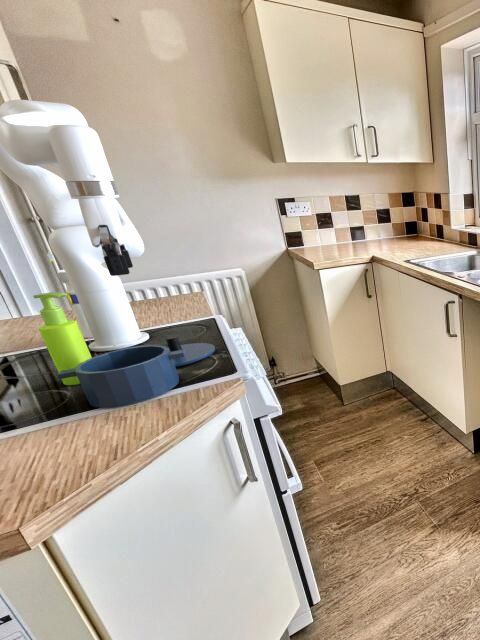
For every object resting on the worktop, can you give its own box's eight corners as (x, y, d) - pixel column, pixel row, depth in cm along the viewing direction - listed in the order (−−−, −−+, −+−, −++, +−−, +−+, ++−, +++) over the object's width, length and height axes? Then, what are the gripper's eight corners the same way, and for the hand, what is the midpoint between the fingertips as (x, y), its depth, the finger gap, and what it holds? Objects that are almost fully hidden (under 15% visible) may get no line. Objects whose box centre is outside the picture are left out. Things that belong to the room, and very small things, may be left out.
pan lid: (146, 355, 108) (138, 334, 106) (218, 343, 115) (212, 323, 113) (131, 377, 95) (122, 354, 93) (213, 362, 102) (206, 340, 100)
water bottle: (82, 340, 120) (44, 252, 111) (79, 334, 126) (43, 249, 116) (120, 333, 126) (87, 248, 117) (116, 327, 131) (84, 246, 122)
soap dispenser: (86, 384, 92) (47, 296, 85) (55, 385, 93) (14, 297, 85) (110, 373, 98) (76, 289, 91) (81, 374, 98) (44, 290, 91)
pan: (85, 388, 91) (71, 356, 88) (197, 367, 100) (188, 338, 97) (59, 419, 79) (42, 383, 76) (189, 392, 88) (177, 359, 85)
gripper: (76, 191, 93) (105, 268, 99) (60, 192, 80) (94, 280, 86) (120, 189, 97) (145, 263, 103) (112, 190, 84) (141, 275, 90)
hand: (122, 271), depth 95 cm, fingers open, 9 cm apart
